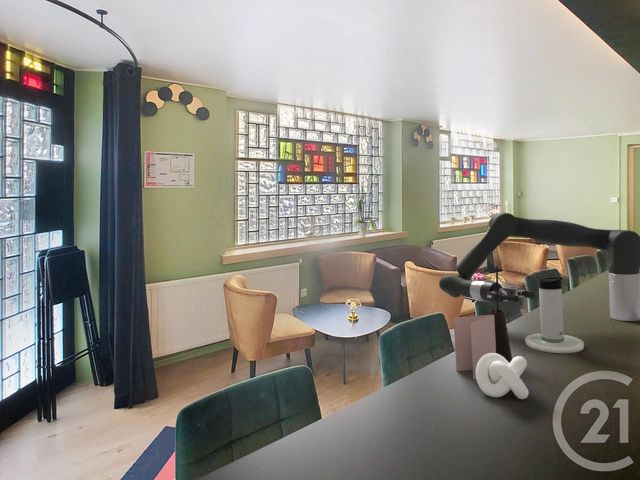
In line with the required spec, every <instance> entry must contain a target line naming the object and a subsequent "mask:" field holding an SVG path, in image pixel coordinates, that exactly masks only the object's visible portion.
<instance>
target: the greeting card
mask: <svg viewBox="0 0 640 480" xmlns="http://www.w3.org/2000/svg"><path fill="white" fill-rule="evenodd" d="M453 333H454V335H453V336H454V337H453V338H454V351H455V352H454V353H455V365H456V367H455V370H456V372H460V371H471V370H472V377H473V380H477V379H476V367H477V363H478V361H479V360H480V358H481V357H482V356H484V355H485V354H488V353H496V342H495V323H494V315H490V314H487V315H486V314H485V315H470V316H462V317H461V316H459V317H457V316H456V317H453Z"/></svg>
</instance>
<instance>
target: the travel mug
mask: <svg viewBox="0 0 640 480" xmlns="http://www.w3.org/2000/svg"><path fill="white" fill-rule="evenodd" d="M562 281H563V276H557V277H545V278H540V279H539V280H538V289H539V290H538V295H539V296H538V297H539V316H540V317H539V319H540V333H541V339H542V340H543V341H546V342H551V343H559V342H563V341H564V336H563V335H565V333H564V313H563V312H564V311H563V291H562Z"/></svg>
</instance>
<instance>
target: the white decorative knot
mask: <svg viewBox="0 0 640 480" xmlns="http://www.w3.org/2000/svg"><path fill="white" fill-rule="evenodd" d="M527 364H528V363H527V360H526V359H525V357H523V356H521V355H517V356H515V357H512V361H511V362H508V361H507V360H506V359H505V358H504V357H503V356H501V355H499V354H497V353H488V354H485V355H484V356H482V357H481V358H480V360H479V361H478V363H477V367H476V379H475V380H476V383H477V385H478V387H479V388H480V390H481V391H482V392H483V393H484V394H485V395H487V396H489V397H492V398H501V397H503V396H505V395H507V394H508V393H509V392H510V391H512V393H513V394H514V396H515V397H516V398H518V399H520V400H525V399H527V398H528V396H529V389H528V388H527V386H526V385H525V383H524V381H523V380H522V379H521V378H520V377H521V376H522V374H523V373H524V371H525V370H526V368H527V366H528V365H527Z"/></svg>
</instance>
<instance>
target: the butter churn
mask: <svg viewBox="0 0 640 480" xmlns="http://www.w3.org/2000/svg"><path fill="white" fill-rule="evenodd" d="M498 269H499V266H497V265H496V266H495V282H496V287H497V288H496V295H497V298H496V299H497V302H496V303H495V304H496V307H492V308H491V309H490V311H489V315H494V323H495V342H496V353H497V354H499V355H501V356H503V357H504V358H505V359H506V360H507V361H508V362H509V363H510V362H511V361H512V359H513V357H512V349H511V345H510V344H511V343H510V337H509V333H508V327H507V321H506V314H505V310H502V309H499V302H498V283H499V270H498Z"/></svg>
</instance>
